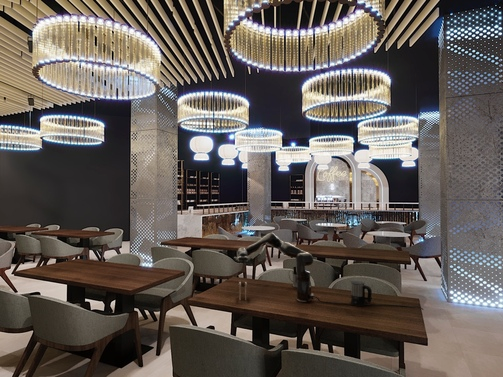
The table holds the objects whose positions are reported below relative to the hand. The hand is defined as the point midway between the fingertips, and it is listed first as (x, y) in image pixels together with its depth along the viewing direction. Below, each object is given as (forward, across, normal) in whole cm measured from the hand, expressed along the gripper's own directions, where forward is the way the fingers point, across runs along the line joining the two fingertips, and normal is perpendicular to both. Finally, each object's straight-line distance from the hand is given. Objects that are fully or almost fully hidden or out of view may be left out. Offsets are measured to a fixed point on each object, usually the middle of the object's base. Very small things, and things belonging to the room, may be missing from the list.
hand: (243, 260), depth 251 cm
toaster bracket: (+20, 0, +24) cm, 31 cm away
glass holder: (-17, +43, +24) cm, 52 cm away
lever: (+16, 0, +15) cm, 22 cm away
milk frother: (+25, +82, +24) cm, 89 cm away
